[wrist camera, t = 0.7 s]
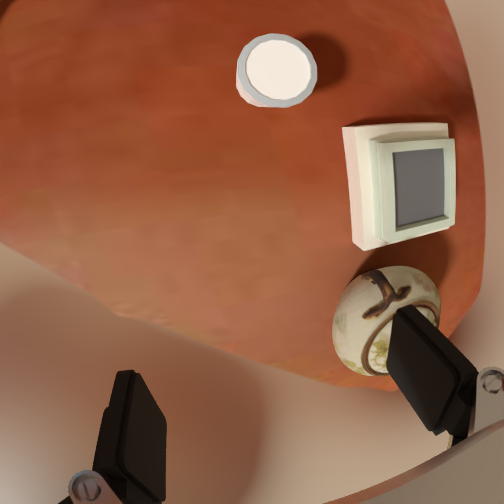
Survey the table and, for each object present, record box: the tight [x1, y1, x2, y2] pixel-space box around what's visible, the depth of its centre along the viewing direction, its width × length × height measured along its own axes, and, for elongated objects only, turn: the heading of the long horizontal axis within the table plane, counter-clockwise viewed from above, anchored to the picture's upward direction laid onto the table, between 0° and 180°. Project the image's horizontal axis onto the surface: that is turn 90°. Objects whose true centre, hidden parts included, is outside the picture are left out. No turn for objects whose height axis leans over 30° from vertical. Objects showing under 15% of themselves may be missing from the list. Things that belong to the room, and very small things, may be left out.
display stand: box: [342, 122, 456, 251], centre depth 32 cm, size 14×14×6 cm
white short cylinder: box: [236, 33, 317, 107], centre depth 25 cm, size 7×7×7 cm
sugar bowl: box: [332, 266, 441, 376], centre depth 33 cm, size 20×15×15 cm
